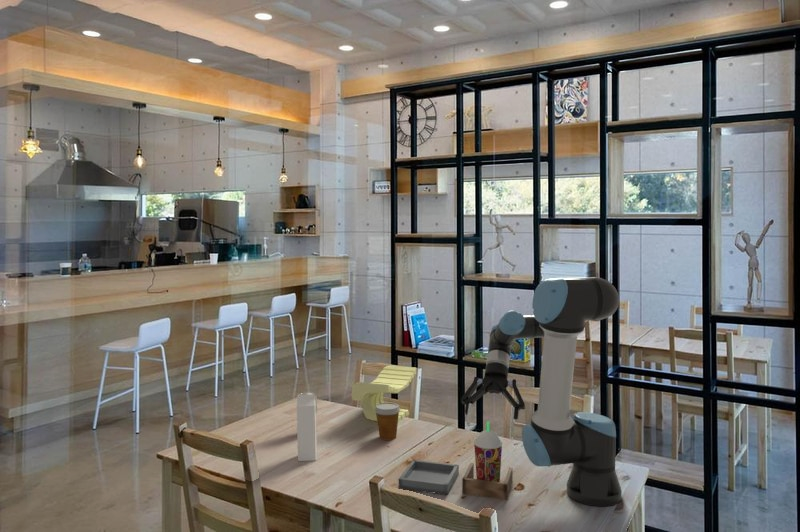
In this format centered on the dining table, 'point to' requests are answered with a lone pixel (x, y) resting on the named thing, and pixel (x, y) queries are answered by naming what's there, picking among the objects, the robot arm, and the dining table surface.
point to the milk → (306, 427)
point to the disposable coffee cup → (387, 420)
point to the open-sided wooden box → (486, 485)
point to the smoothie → (488, 455)
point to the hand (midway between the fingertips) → (489, 426)
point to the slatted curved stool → (383, 389)
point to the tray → (429, 477)
